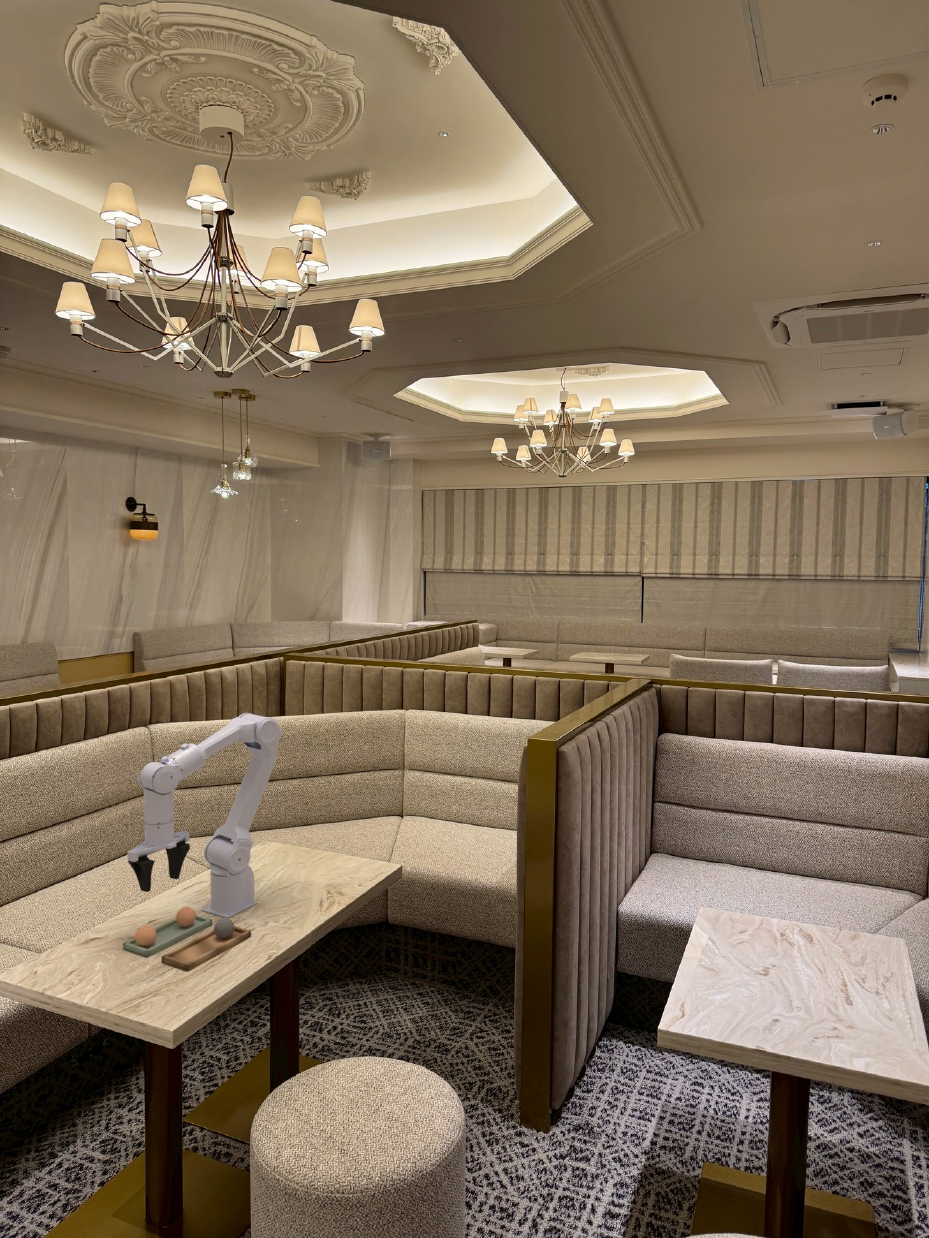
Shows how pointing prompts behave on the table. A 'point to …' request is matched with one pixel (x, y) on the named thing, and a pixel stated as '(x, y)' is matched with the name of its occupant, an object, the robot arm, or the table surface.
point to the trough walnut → (203, 949)
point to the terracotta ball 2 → (185, 916)
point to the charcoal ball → (224, 928)
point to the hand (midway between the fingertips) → (160, 884)
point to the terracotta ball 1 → (145, 935)
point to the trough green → (168, 936)
